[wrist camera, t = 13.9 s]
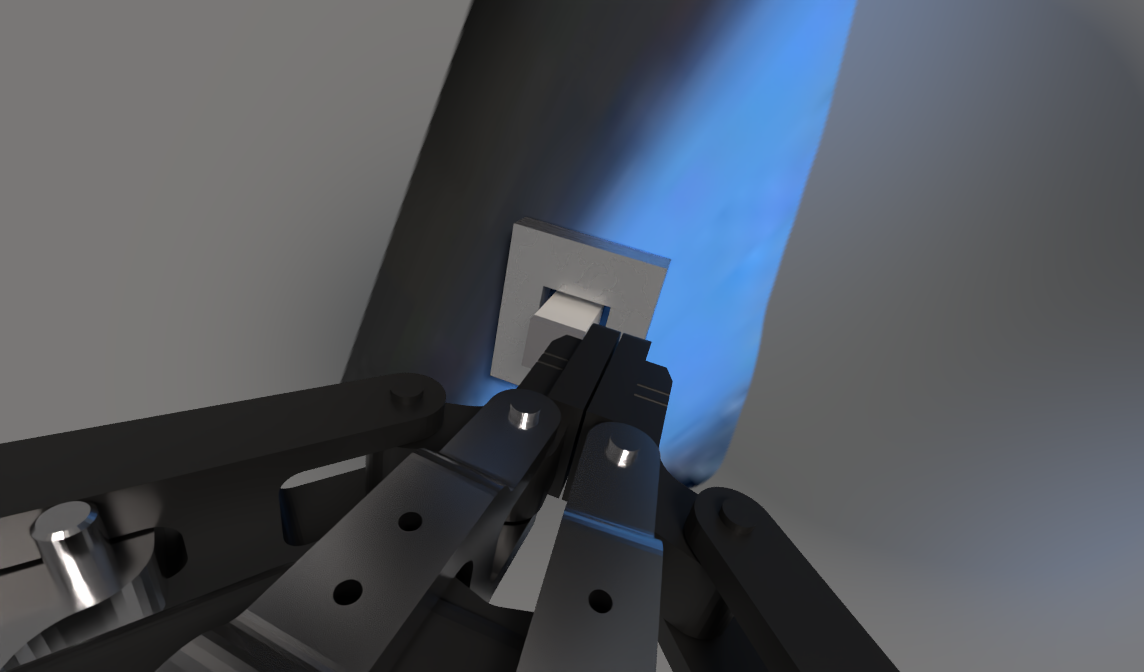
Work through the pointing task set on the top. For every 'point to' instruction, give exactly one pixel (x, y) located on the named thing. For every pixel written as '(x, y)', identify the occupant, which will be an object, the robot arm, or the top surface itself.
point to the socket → (571, 285)
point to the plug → (559, 323)
